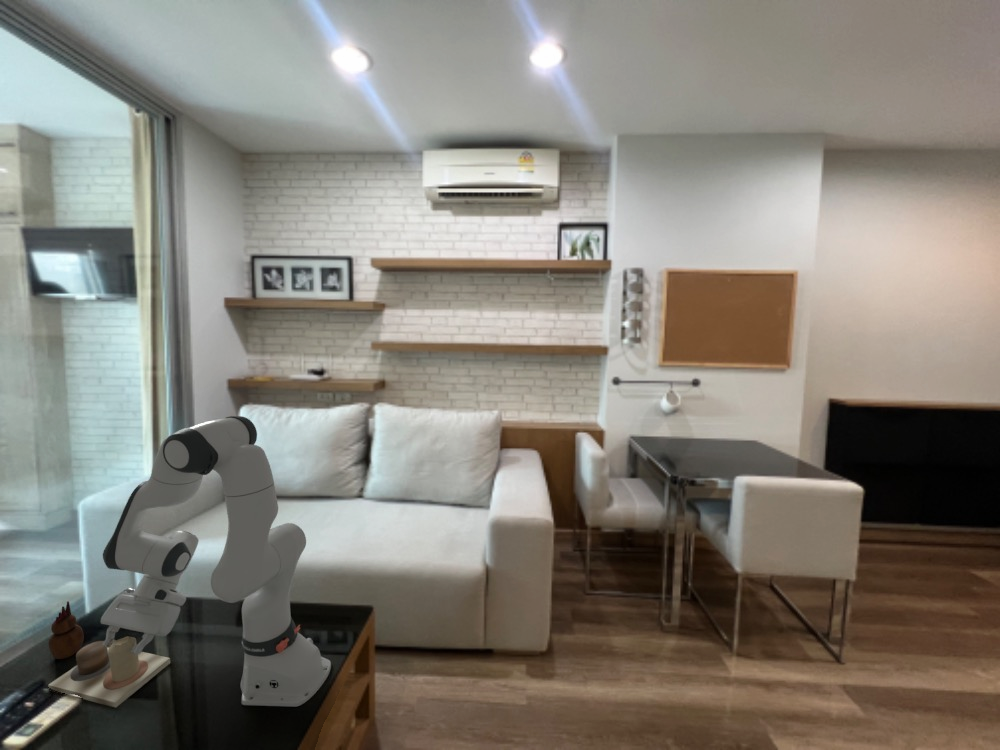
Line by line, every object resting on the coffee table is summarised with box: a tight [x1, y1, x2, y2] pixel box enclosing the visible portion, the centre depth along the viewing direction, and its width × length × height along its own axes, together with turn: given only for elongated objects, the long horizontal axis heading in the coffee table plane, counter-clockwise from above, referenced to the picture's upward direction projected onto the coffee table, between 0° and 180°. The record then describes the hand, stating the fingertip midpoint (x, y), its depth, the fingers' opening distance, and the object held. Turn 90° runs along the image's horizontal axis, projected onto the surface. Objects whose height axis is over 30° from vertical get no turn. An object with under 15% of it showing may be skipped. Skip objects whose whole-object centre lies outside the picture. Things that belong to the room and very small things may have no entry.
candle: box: [108, 635, 140, 682], centre depth 112 cm, size 6×6×10 cm
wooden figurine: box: [48, 601, 85, 660], centre depth 121 cm, size 7×6×15 cm
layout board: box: [47, 640, 171, 708], centre depth 114 cm, size 22×14×7 cm, turn 78°
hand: (120, 650), depth 112 cm, fingers open, 8 cm apart
